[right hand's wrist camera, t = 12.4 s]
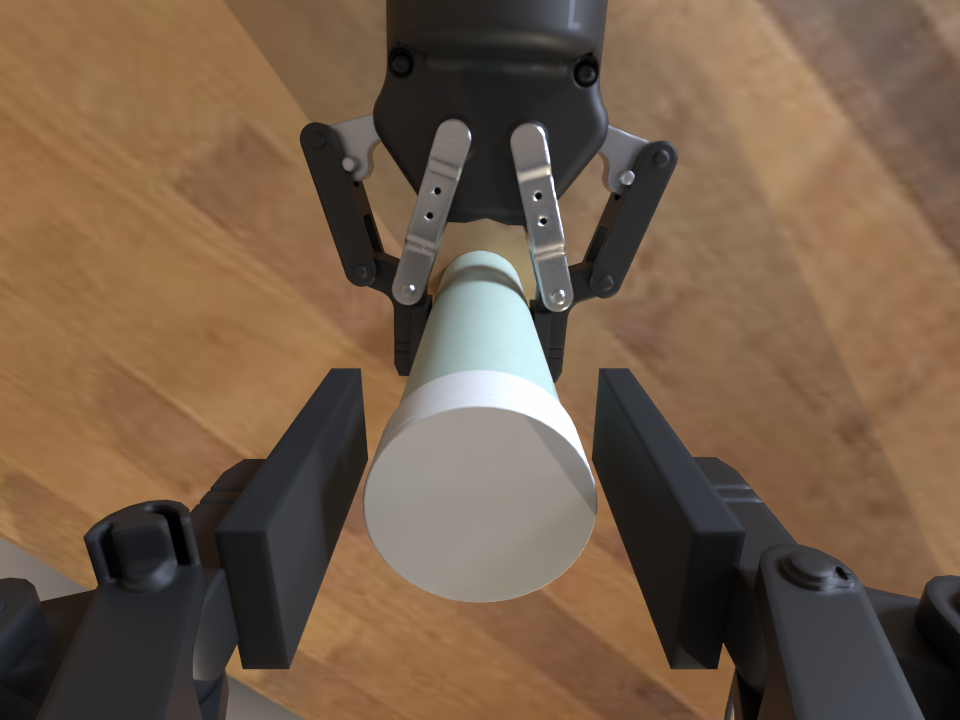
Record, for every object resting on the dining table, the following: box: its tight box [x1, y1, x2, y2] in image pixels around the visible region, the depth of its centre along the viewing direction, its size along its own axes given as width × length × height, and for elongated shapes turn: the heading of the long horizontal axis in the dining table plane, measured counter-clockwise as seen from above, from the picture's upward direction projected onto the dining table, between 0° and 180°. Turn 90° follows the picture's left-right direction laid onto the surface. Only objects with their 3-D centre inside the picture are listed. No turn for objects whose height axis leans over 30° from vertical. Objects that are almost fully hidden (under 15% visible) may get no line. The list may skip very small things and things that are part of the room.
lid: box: [363, 370, 597, 602], centre depth 11 cm, size 4×5×2 cm
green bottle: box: [399, 251, 561, 405], centre depth 19 cm, size 4×4×18 cm
